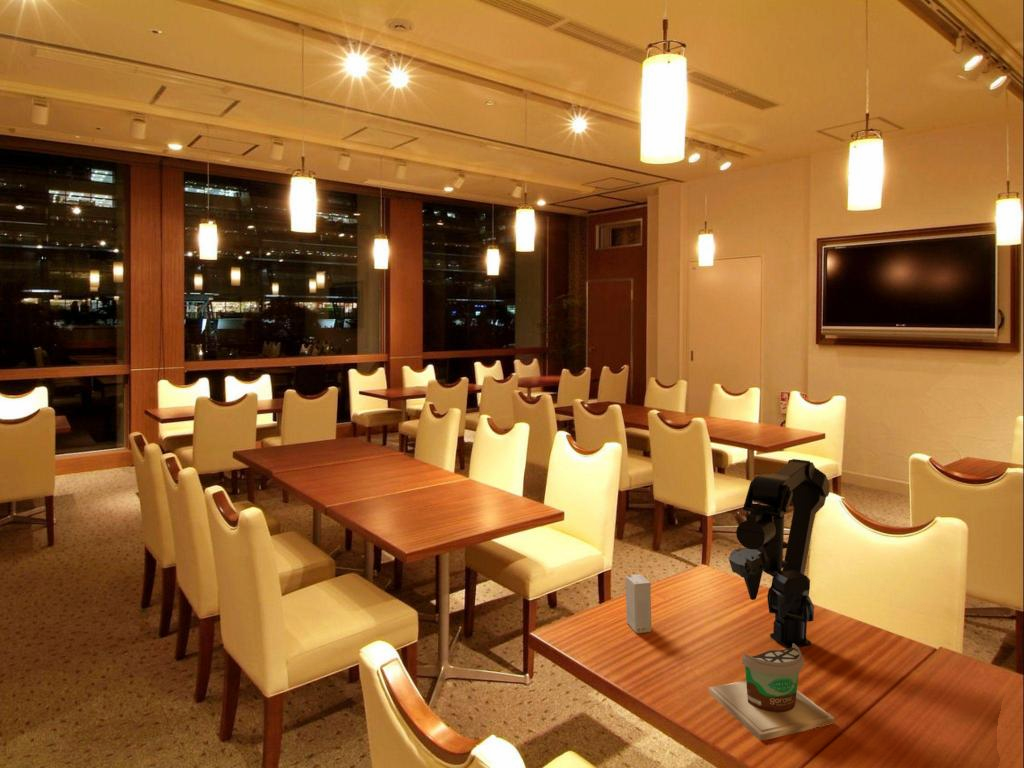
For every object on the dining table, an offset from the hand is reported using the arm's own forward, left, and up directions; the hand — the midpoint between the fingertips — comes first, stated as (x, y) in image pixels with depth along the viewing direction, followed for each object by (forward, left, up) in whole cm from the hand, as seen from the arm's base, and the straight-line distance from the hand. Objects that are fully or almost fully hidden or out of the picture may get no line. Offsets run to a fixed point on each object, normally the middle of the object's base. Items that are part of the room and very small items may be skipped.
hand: (766, 608), depth 142 cm
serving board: (+9, +13, -14) cm, 21 cm away
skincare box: (+17, -25, -13) cm, 33 cm away
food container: (+8, +15, -12) cm, 21 cm away
